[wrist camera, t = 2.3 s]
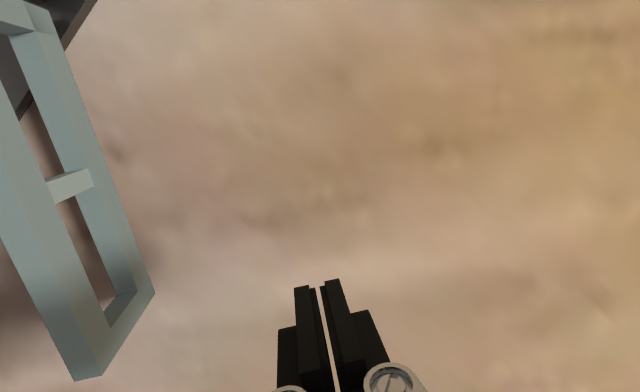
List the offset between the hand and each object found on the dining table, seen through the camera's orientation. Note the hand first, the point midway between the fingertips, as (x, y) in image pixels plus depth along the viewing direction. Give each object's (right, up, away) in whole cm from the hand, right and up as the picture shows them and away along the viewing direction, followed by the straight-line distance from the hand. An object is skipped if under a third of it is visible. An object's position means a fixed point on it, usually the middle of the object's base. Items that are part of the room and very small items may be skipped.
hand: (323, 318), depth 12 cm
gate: (-16, +6, +11) cm, 20 cm away
